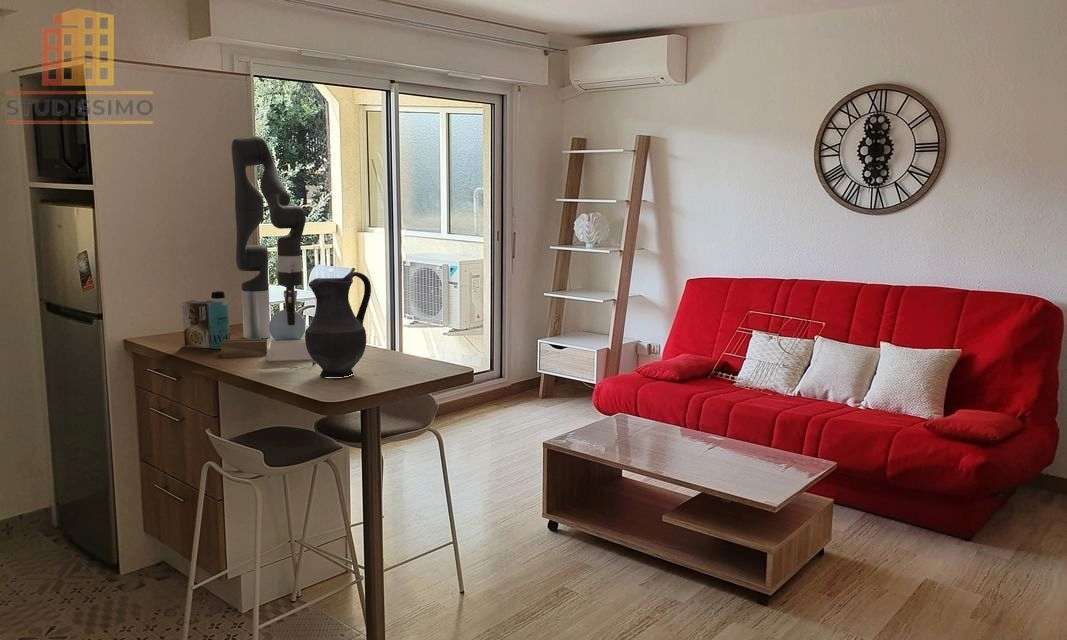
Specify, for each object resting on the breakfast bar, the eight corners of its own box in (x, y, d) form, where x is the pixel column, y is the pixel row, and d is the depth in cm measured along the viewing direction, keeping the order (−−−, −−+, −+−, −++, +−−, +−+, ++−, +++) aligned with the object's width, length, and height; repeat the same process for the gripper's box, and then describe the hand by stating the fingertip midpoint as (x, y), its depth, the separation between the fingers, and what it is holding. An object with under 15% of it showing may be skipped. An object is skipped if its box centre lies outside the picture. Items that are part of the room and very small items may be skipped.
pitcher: (295, 375, 244) (292, 273, 240) (354, 364, 260) (352, 268, 255) (328, 385, 233) (326, 278, 228) (388, 374, 248) (387, 273, 243)
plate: (266, 339, 264) (273, 306, 262) (301, 346, 267) (308, 312, 265) (266, 340, 262) (272, 306, 261) (301, 347, 265) (308, 313, 264)
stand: (223, 356, 268) (222, 339, 267) (267, 355, 271) (267, 338, 271) (221, 360, 262) (220, 342, 262) (266, 358, 266) (265, 341, 265)
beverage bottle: (205, 351, 275) (202, 291, 272) (221, 348, 281) (218, 289, 277) (219, 354, 272) (216, 293, 269) (235, 350, 278) (232, 291, 274)
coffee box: (219, 347, 282) (217, 300, 280) (209, 351, 276) (207, 303, 273) (193, 346, 283) (191, 299, 281) (183, 350, 277) (181, 302, 274)
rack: (270, 356, 270) (269, 336, 269) (316, 354, 274) (316, 335, 273) (267, 364, 258) (266, 343, 257) (316, 362, 261) (315, 342, 260)
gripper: (278, 267, 267) (280, 321, 270) (275, 272, 254) (277, 328, 256) (302, 267, 268) (304, 320, 271) (301, 272, 255) (303, 327, 258)
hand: (291, 324), depth 264 cm, fingers closed on plate, 1 cm apart
